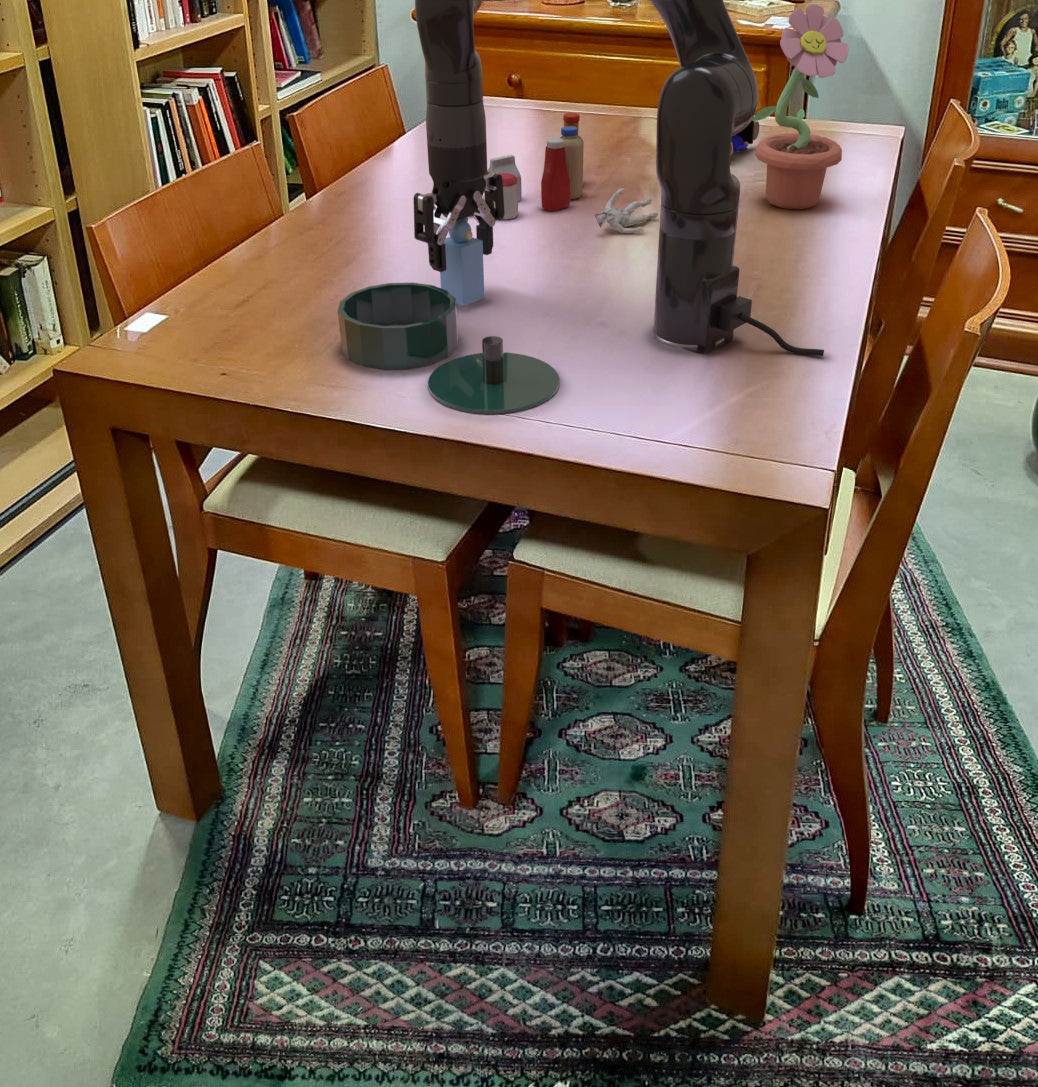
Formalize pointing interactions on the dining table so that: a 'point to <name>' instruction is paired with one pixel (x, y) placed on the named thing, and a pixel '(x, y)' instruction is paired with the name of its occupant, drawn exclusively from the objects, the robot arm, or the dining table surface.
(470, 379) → the lid
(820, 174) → the decorative flower
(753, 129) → the figurine character
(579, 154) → the toy food
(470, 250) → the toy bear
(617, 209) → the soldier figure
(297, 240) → the dining table surface
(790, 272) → the dining table surface
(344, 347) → the pot
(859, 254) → the dining table surface
